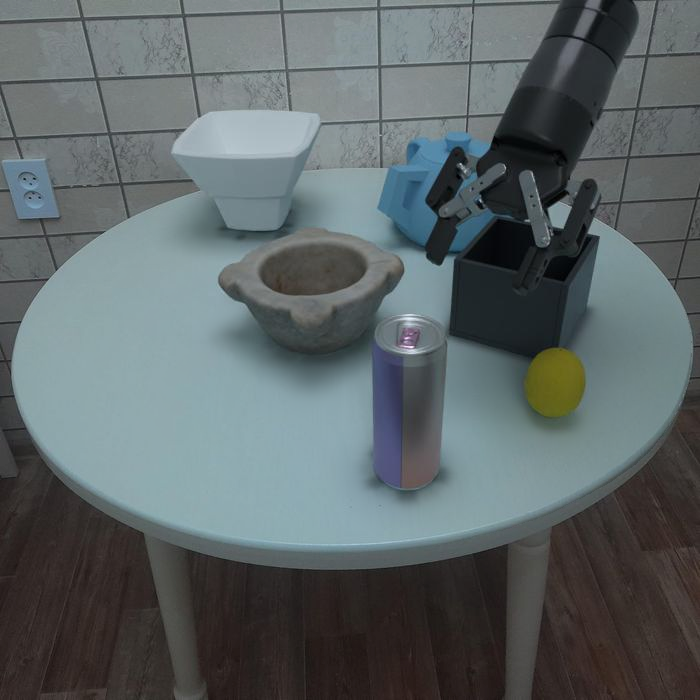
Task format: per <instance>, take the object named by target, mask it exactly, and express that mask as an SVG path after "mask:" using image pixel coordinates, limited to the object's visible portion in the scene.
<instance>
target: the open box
mask: <svg viewBox="0 0 700 700" xmlns="http://www.w3.org/2000/svg"><path fill="white" fill-rule="evenodd" d="M552 228H553V235H554V236H555V235H561V233H562V231H563V228H562V227H556V226H552ZM600 239H601V236H600V235H596V234H591V233H587V236H586V238H585V241H584V243H583V246H582V248H581V251H580V253H579V255H577V256H576V257H568V256H567V255H560V256H555V257H553V258H552V259H551V260H550V262H549V264H548V266H547V268H546V270H545V272H544V274H543V276H542V278H541V280H540V283H539V285H538V287H537V288H536V289H535V290H534V291H533V292H532V291H528V293H527V295H526V296H522V295H519V294H517V293H516V292H515V291H514V290H513V289H512V283H513V281H514V279H515V277H516V275H517V273H518V270H519V268H520V266H521V264H522V262H523V260H524V258H525V256H526V254H527V252H528V249H529V247H530V246H531V247H534V246H535V244H536V242H535V238H534V234H533V230H532V226H531V223H530V221H528V220H525V221H524V222H521V221H518V220H515V219H512V218H507V217H502V216H497V215H495V216H494V217H493V218H492V219H491V220H490V221H489V222H488V223H487V224H486V225H485V226H484V227H483V229H482V230H481V231H480V232H479V233H478V234H477V235H476V236H475V237H474V238H473V239H472V241H471V242H470V243H469V244H468V245H467V246H466V247H465V248H464V249H463V250H462V251H460V253H458V255H456V257H455V258H454V259H453V267H452V268H453V269H452V286H451V300H450V314H449V315H450V316H449V319H450V320H449V330H448V331H449V333H448V334H449V335H450V336H455V337H457V338H461V339H466V340H469V341H472V342H476V343H480V344H483V345H486V346H490V347H494V348H497V349H500V350H504V351H508V352H513V353H515V354H519V355H521V356H522V355H523V356H525V357H530V358H533V359H534V358H535V357H536V356H537V355H538V354H539V353H540V352H542V351H544V350H547V349H550V348H563V349H566V346H567V344H568V342H569V341H570V339H571V337H572V336H573V334H574V331H575V330H576V329H577V326H578V324H579V323H580V321H581V319H582V318H583V316H584V315H585V314H584V313H585V312H586V310H587V305H588V301H589V296H590V291H591V286H592V281H593V275H594V270H595V265H596V260H597V254H598V250H599V244H600Z"/></svg>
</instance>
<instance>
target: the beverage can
mask: <svg viewBox="0 0 700 700" xmlns="http://www.w3.org/2000/svg"><path fill="white" fill-rule="evenodd" d="M373 333H374V335H373V339H372V343H371V362H372V363H371V365H372V367H371V368H372V370H371V371H372V375H371V378H372V380H371V381H372V459H373V461H372V462H373V463H372V465H373V470H374V472H375V474H376V475H377V477H378V478H379V479H380V480H381V481H382V482H383V483H384V484H385V485H386V486H389V487H390V488H393V489H396V490H400V491H415V490H419V489H422V488H425V487H426V486H428V485H429V484H430V483H432V481H434V480H435V478H436V477H437V476H438V474H439V472H440V468H441V455H442V454H441V453H442V441H443V440H442V437H443V424H444V423H443V422H444V406H445V391H446V376H447V363H448V362H447V361H448V360H447V359H448V341H447V339H446V336H447V334H446V330H445V328H444V326H443V325H442V324H441V323H440V322H439V321H437V320H436V319H434V318H432V317H429V316H427V315H422V314H418V313H417V314H416V313H404V314H403V313H402V314H395V315H392V316H390V317H387V318H385V319H383V320H381V321H380V322H379V323H378V324H377V326H376V327H375V330H374V332H373Z"/></svg>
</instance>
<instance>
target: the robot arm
mask: <svg viewBox="0 0 700 700" xmlns="http://www.w3.org/2000/svg"><path fill="white" fill-rule="evenodd" d="M639 25H640V12H639V9H638V7H637V5H636V3H635V2H634V0H560V1H559V3H558V5H557V7H556V10H555V13H554V14H553V17H552V18H551V21H550V23H549V24H548V27H547V29H546V31H545V33H544V35H543V37H542V39H541V41H540V44H539V46H538V47H537V49H536V51H535V52H534V54H533V56H532V57H531V58H530V59H529V61H528V63H527V65H526V67H525V69H524V70H523V73H522V74H521V77H520V79H519V81H518V83H517V85H516V87H515V89H514V92H513V93H512V95H511V98H510V99H509V101H508V104H507V105H506V108H505V110H504V112H503V114H502V116H501V118H500V121H499V123H498V124H497V126H496V129H495V131H494V133H493V136H492V139H491V141H490V143H491V146H490V148H489V150H488V151H487V152H486V153H485V154H484V155H483V156H482V157H481V158H479V157H476V156H473V155H469V154H466V153H465V151H464V150H463V148H462V147H459V146H457V147H455V148H453V149H452V151H451V152H450V154H449V156H448V158H447V160H446V162H445V163H444V165H443V167H442V169H441V171H440V173H439V174H438V176H437V178H436V180H435V182H434V184H433V185H432V187H431V189H430V191H429V193H428V195H427V196H426V198H425V203H426V204H427V205H428V206H429V208H430V209H431V210H432V211H433V212H434V213H435V214H436V215H437V217H438V218H437V222H436V224H435V226H434V228H433V230H432V232H431V234H430V236H429V238H428V240H427V242H426V245H425V247H424V251H425V252H426V254H425V258H426V259H427V260H428V261H429V263H431V264H433V265H435V266H437V267H441V266H442V265H443V263H444V261H445V259H446V257H447V254H448V253H449V252H450V251H449V249H450V246H451V244H452V242H453V240H454V238H455V236H456V234H457V232H458V230H457V229H456V227H458V226H459V225H461V224H462V223H464V222H465V221H467V220H469V219H470V218H472V217H478V216H480V215H482V214H483V213H485V212H486V211H488V210H490V211H491V212H492V213H494V214H497V215H508V216H511V217H512V218H514V219H515V220H518V221H521V222H524V221H529V222H530V223H531V226H532V230H533V234H534V238H535V242H536V244H535V246H534V247H531V246H530V247H529V249H528V252H527V254H526V256H525V258H524V260H523V262H522V264H521V266H520V268H519V270H518V273H517V275H516V277H515V279H514V281H513V283H512V289H513V290H514V291H515V292H516V293H517V294H519V295H522V296H526V295H527V293H528V291H532V292H533V291H534V290H535V289H536V288H537V287H538V285H539V283H540V280H541V278H542V276H543V274H544V272H545V270H546V268H547V266H548V264H549V262H550V260H551V259H552V258H553V257H555V256H560V255H567V256H568V257H576V256H577V255H579V253H580V251H581V248H582V246H583V243H584V241H585V238H586V236H587V234H589V231H590V228H591V226H592V224H593V221H594V218H595V216H596V214H597V211H598V208H599V206H600V204H601V202H602V198H603V197H602V193H601V190H600V188H599V186H598V184H597V182H596V180H595V179H593V178H586V179H584V180H583V181H578V180H572V179H571V175H572V174H573V172H574V171H575V169H576V168H577V165H578V163H579V160H580V158H581V157H582V154H583V153H584V150H585V147H586V146H587V143H588V142H589V140H590V138H591V135H592V134H593V132H594V129H595V127H596V125H597V123H598V121H600V120H601V117H602V115H603V112H604V108H605V106H606V103H607V101H608V98H609V96H610V92H611V90H612V86H613V83H614V81H615V78H616V75H617V73H618V72H619V69H620V67H621V65H622V63H623V61H624V59H625V56H626V55H627V53H628V50H629V48H630V47H631V44H632V42H633V40H634V38H635V35H636V34H637V31H638V28H639ZM474 172H477V178H478V179H476V180H475V181H473V182H472V183H470V184H469V185H467V186H466V187H464V188H463V189H461V190H460V191H459V194H458V196H456V194H457V192H458V190H459V188H460V187H461V185H462V183H463V181H464V179H469V178H470V175H471V174H472V173H474ZM479 195H481V198H480V199H478V200H475V198H476V197H478V196H479ZM455 196H456V197H455ZM567 196H568V202H569V204H570V206H571V209H570V211H569V213H568V216H567V219H566V221H565V222H564V226H563V228H562V229H563V231H562V233H561V235H555V236H554V235H553V228H552V227H553V223H552V220H551V216H550V212H549V209H550V208H551V207H552V206H554V205H555V204H558V202H560V201H562V200H564V199H565V198H566V197H567Z"/></svg>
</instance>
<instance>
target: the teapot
mask: <svg viewBox="0 0 700 700" xmlns="http://www.w3.org/2000/svg"><path fill="white" fill-rule="evenodd" d="M472 138H473V136H472V135H471V134H470V133H468V132H465V131H451V132H448V133H446V134H445V135H444V138H442V139H436V140H431V139H429V138H427V137H423V136H421V137H416V138H413V139H412V140H410V141H409V142H408V143H407V145H406V150H405V157H406V159H405V160H406V161H405V162H406V164H405V165H388V169H387V172H386V176H385V180H384V183H383V187H382V191H381V194H380V197H379V201H378V204H377V207H376V208H377V210H378V211H379V212H381V213H383V214H384V215H385V216H387V217H388V218H389V219H391V220H392V221H393V223H394V224H395V226H396V227H397V228H398V229H399V231H400V232H401V233H402V234H404V235H405V237H407V239H409V240H410V241H411V242H413V243H415V244H417V245H418V246H421V247H424V248H425V245H426V242H427V240H428V238H429V236H430V234H431V232H432V230H433V228H434V226H435V224H436V222H437V218H438V217H437V215H436V214H435V213H434V212H433V211H432V210H431V209H430V208H429V206H428V205H427V204H426V203H425V198H426V196H427V195H428V193H429V191H430V189H431V187H432V185H433V184H434V182H435V180H436V178H437V176H438V174H439V173H440V171H441V169H442V167H443V165H444V163H445V162H446V160H447V158H448V156H449V154H450V152H451V151H452V149H453V148H455V147H457V146H459V147H462V148H463V150H464V151H465V153H466V154H469V155H473V156H476V157H479V158H481V157H482V156H483V155H484V154H485V153H486V152H487V151H488V150H489V148H490V146H491V142H489V143H486V142H484V141H481V140H477V139H472ZM476 179H478V178H477V172H474V173H472V174H471V175H470V178H469V179H464V181H463V183H462V185H461V187H460V188H459V190H458V192H457V194H456V196H458V194H459V191H460V190H461V189H463V188H464V187H466V186H467V185H469V184H470V183H472V182H473V181H475V180H476ZM456 196H455V197H456ZM480 198H481V195H479V196H478V197H476V198H475V200H478V199H480ZM495 215H497V214H494V213H492V212H491V211H490V210H488V211H486V212H485V213H483V214H482V215H480V216H478V217H472V218H470V219H469V220H467V221H465V222H464V223H462V224H461V225H459V226H458V227H456V229H457V230H458V232H457V234H456V236H455V238H454V240H453V242H452V244H451V246H450V249H449V251H448V252H461V251H462V250H463V249H464V248H465V247H466V246H467V245H468V244H469V243H470V242H471V241H472V239H473V238H474V237H475V236H476V235H477V234H478V233H479V232H480V231H481V230H482V229H483V227H484V226H485V225H486V224H487V223H488V222H489V221H490V220H491V219H492V218H493V217H494V216H495ZM497 216H502V217H507V218H512V217H511V216H508V215H497ZM512 219H514V218H512Z"/></svg>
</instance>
